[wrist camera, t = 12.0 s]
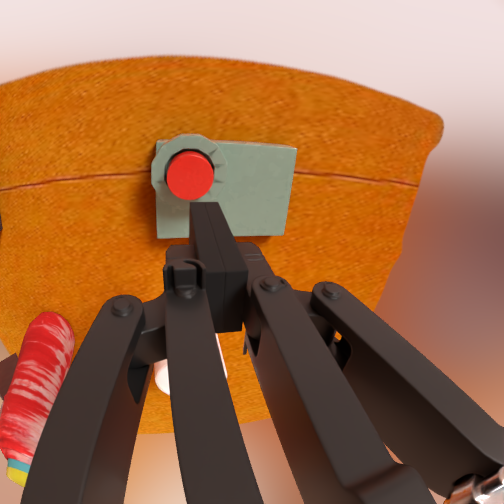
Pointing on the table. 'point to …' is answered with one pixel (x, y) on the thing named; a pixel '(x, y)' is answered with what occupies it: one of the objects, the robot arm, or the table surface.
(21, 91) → the table surface
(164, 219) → the housing
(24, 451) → the water bottle
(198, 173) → the button
